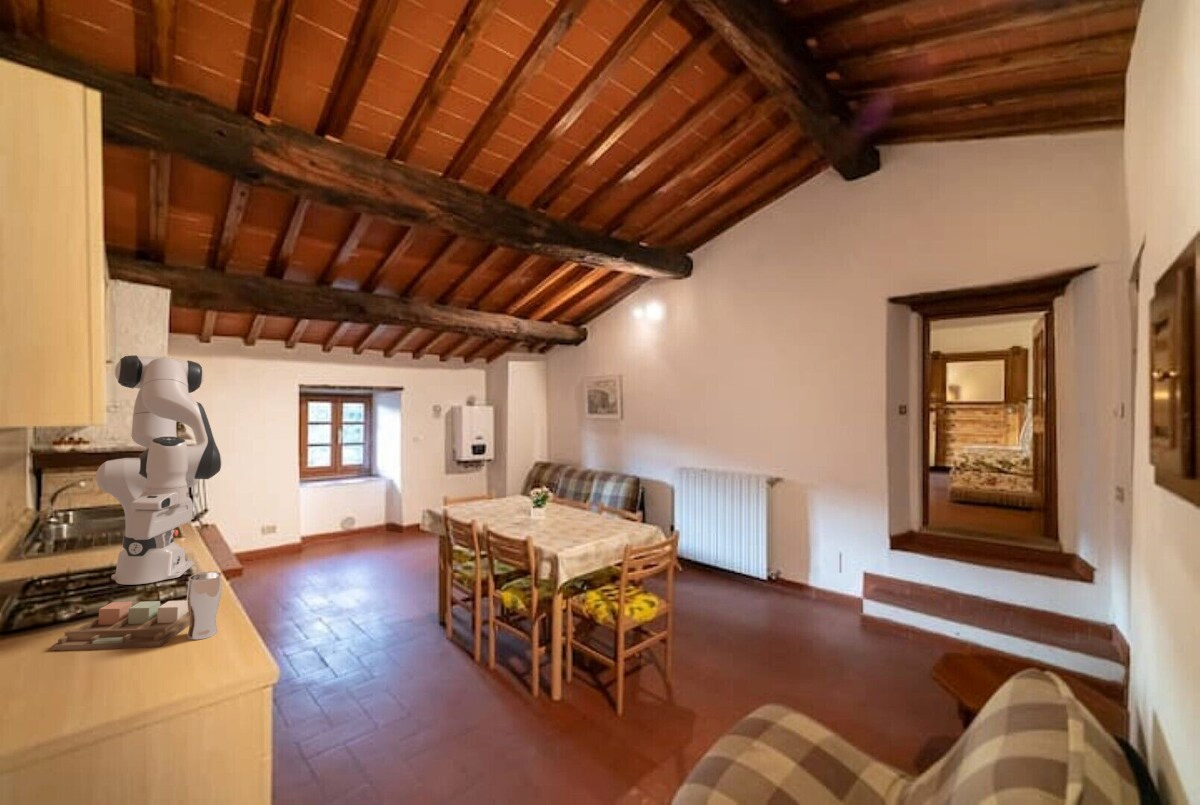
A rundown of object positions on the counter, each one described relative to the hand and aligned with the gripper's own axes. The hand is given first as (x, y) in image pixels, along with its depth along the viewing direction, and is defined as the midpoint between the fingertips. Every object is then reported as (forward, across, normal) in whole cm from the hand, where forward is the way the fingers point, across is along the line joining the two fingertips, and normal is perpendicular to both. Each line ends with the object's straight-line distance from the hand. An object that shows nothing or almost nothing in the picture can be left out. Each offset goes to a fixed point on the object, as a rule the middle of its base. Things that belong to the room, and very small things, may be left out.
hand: (163, 546), depth 141 cm
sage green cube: (+17, +7, 0) cm, 18 cm away
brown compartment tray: (+18, +11, 0) cm, 21 cm away
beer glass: (+18, +14, +18) cm, 29 cm away
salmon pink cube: (+17, +7, -6) cm, 19 cm away
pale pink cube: (+17, +7, +7) cm, 20 cm away
